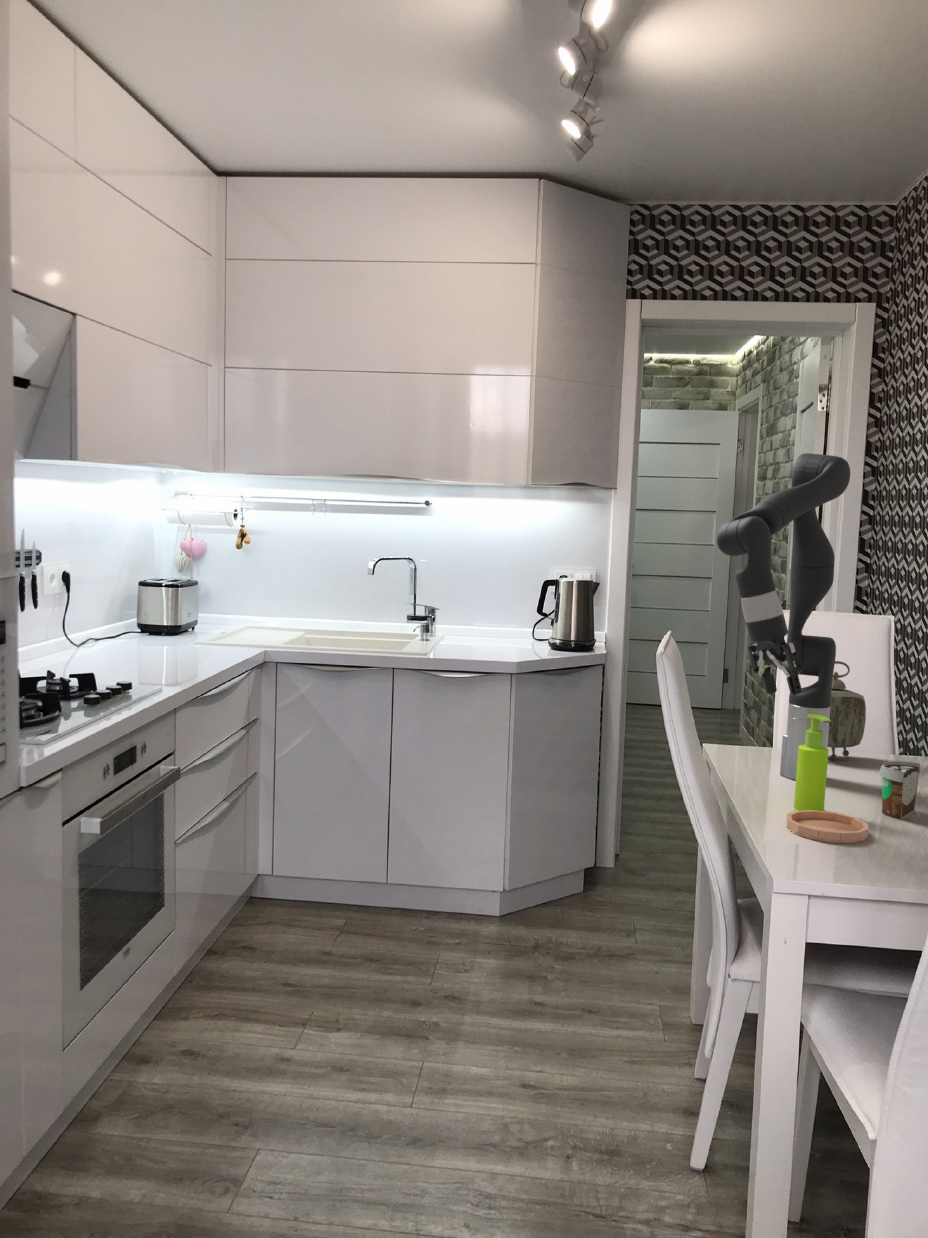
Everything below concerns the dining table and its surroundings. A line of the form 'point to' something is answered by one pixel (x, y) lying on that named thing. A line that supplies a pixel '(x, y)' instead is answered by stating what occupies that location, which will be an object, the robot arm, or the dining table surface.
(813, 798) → the soap dispenser
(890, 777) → the food container
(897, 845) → the dining table surface
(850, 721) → the tabletop clock
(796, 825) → the terracotta dish
